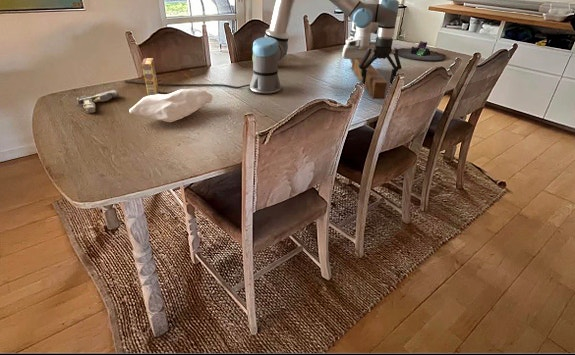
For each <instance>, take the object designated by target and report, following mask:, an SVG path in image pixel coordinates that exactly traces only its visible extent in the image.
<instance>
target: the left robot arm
mask: <svg viewBox="0 0 575 355" xmlns="http://www.w3.org/2000/svg"><path fill="white" fill-rule="evenodd" d="M295 2H296V0H275V2H274V7H273V12H272V15H271V20H270V25H269V27H268V28H267V29H265V33H264V37H258V38H256V39H255V40H254V41H253V43H252V57H253V60H252V69H253V70H252V77H251V81H250V83H249V84H244V85H240V86H237V85H235V86H234V85H231V84H223V83H158V82H157V84H158V86H175V87H177V86H178V87H179V86H180V87H193V86H194V87H200V86H201V87H202V86H203V87H206V86H207V87H228V88H233V89H241V88H246V87H249V91H250V92H251V93H253V94H255V95H261V96H271V95H277V94H279V93H281V92H282V85H281V81H280V78H279V61H281V60H282V59H283V58H284V57H285V56H286V55H287V52H288V51H289V50H288V48H289V44H288V43H289V39H290V35H289V33H288V30H289V25H290V22H291V18H292V14H293V10H294V6H295ZM329 2H331V3H332V5H333V6H335V7H337V9H339V10H340V11H341V12H342V13H343V14H344V15H346V16H347V17H348V18H349V19H350V20H351V21H353V22H354V24H355V25H356V26H357V27H359V28H365V27H367V26H368V25H370V23H371V22H375V23H378V30H377V34H376V37H375V41H374V42H375V48H374V49H372V48H368V49H367V53H366V54H365V56H364V58H363V59H362V61H361V62H360V64H359V66H358V67H359V68H360V69H362V72H361V76H362V77H363V79H362V83H363V84H365V80H366V73H367V70H366V68H367V67H368V66H369V65H370V64H371V65H372V64H373V63H374V61H376V60H377V59H378V60H379V59H380V60H381V59H383V60H385V59H386V60H387V61H388V63H389V64H390V65H391V67H392V69H391V72H390V77H389V84H390V85H393V84H392V82H393V83H394V78H396V77H397V72H398V71H399V70H402V64H401V61H400V57H399V55H398V49H399V48H396V47H394V48H393V41H394V36H395V29H396V25H397V19H398V15H399V14H398V13H399V5H400V2H399V1H398V0H382V2H381V4H368V3H362V2H361V1H360V0H329ZM373 51H374V53H375V54H374V55H373V56H372V57H371V58H370V59H369V60H368V61H367V59H368V57H369V56H370V54H371V53H372V52H373ZM391 54H393V57H394V60H395V61H393V59H392V57H391ZM366 61H367V62H366ZM365 62H366V63H365ZM395 76H396V77H395ZM124 83H131V84H139V85H140V84H141V85H146V83H145V81H143V82H142V81H135V80H126V79H125V80H124ZM362 83H361V84H362ZM363 84H362V85H363Z"/></svg>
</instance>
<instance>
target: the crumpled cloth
mask: <svg viewBox="0 0 575 355" xmlns="http://www.w3.org/2000/svg"><path fill="white" fill-rule="evenodd" d="M213 97H214V96H213V94H212V93H210V92H208V91H206V90H203V89H201V88H187V89H186V88H185V89H184V88H183V89H177V90H175V91H173V92H171V93H167V94H163V93H158V94H156V95H150V96H148V95H146V96H144V97H142V98H141V99H140V100H139V101H138V102H137V103H136V104H134V105H133V106H132V107H131V108H129V114H130V115H135V116H140V117H145V118H146V119H149V120H152V121H155V120H158V121H163V122H166V123H174V122H176V121H178V120H181V119H183V118H185V117H188V116H190V115H192V114H193V113H195V112H196V111H197V110H199V109H200V108H202V107H204V106H206V105H207V104H210V102H211V101H212V100H213V99H214V98H213Z"/></svg>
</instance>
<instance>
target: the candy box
mask: <svg viewBox="0 0 575 355" xmlns="http://www.w3.org/2000/svg"><path fill="white" fill-rule="evenodd" d="M141 66H142V73H143V78H144V82H145V83H146V84H145V87H146V92H147V96H150V95H156V94H159V91H160V90H159V85H158V84H157V83H158V79H157V73H156V66H155V62H154V58H153V57H151V58H150V57H149V58H146V57H145V58H143V60H142V63H141Z"/></svg>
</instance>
